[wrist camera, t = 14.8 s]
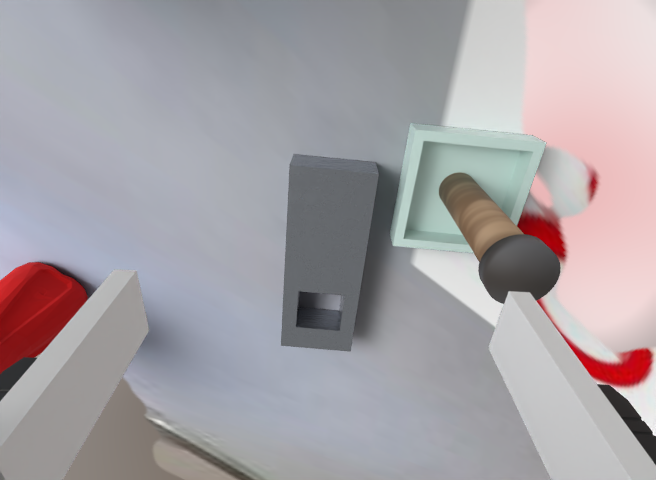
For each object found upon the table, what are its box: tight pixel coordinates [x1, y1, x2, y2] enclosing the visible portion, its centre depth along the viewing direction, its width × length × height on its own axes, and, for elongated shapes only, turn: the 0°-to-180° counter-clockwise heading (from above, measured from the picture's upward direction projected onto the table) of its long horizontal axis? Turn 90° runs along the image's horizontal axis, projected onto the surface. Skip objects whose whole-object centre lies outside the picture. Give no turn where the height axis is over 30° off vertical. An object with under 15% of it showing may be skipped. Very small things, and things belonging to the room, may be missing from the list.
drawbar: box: [281, 154, 379, 351], centre depth 46 cm, size 24×9×4 cm, turn 175°
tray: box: [390, 123, 546, 253], centre depth 43 cm, size 13×13×3 cm
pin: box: [439, 172, 560, 304], centre depth 36 cm, size 5×5×18 cm
